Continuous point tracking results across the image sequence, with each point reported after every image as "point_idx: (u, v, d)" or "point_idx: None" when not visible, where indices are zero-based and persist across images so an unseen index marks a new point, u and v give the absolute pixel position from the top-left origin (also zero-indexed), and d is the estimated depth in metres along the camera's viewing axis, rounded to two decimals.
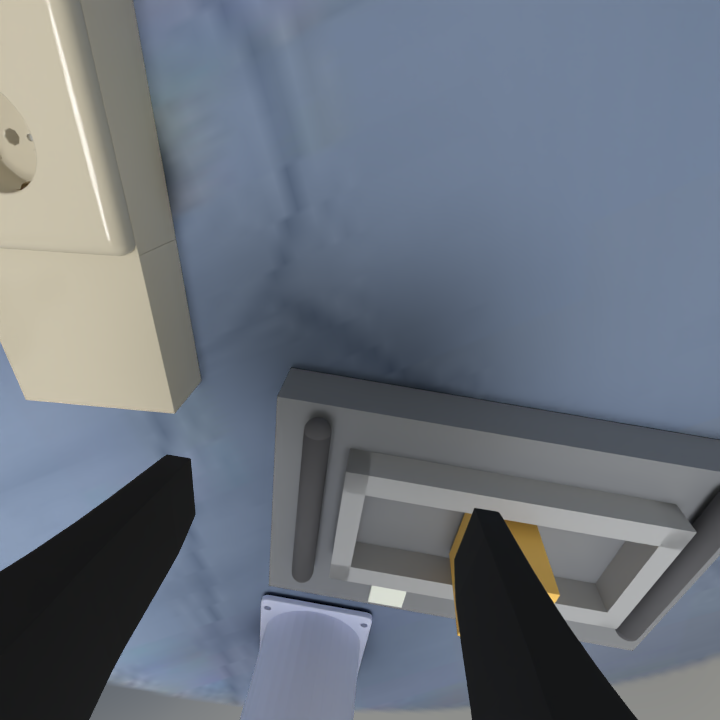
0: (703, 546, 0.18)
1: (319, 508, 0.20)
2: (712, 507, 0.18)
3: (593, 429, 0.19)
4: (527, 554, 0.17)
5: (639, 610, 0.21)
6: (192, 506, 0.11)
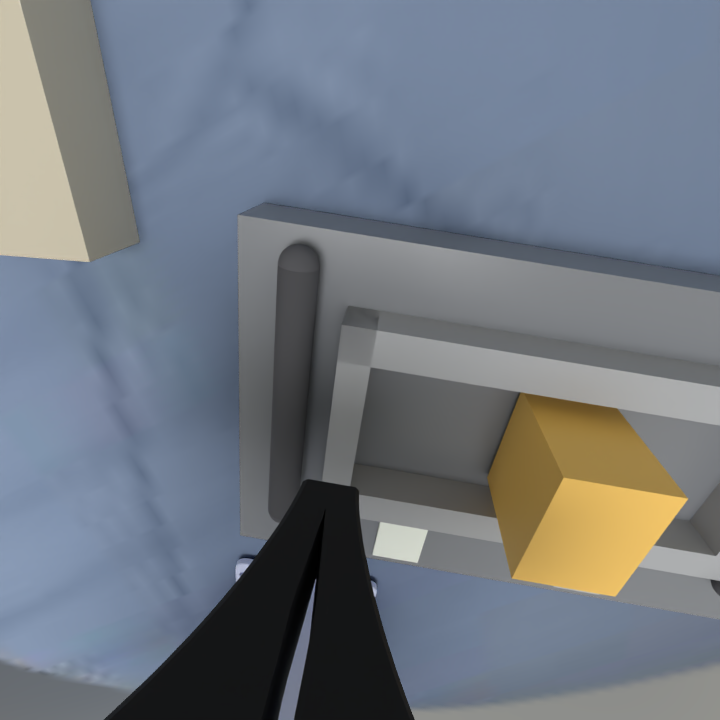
0: None
1: (304, 402, 0.14)
2: None
3: (704, 278, 0.13)
4: (621, 449, 0.11)
5: None
6: None
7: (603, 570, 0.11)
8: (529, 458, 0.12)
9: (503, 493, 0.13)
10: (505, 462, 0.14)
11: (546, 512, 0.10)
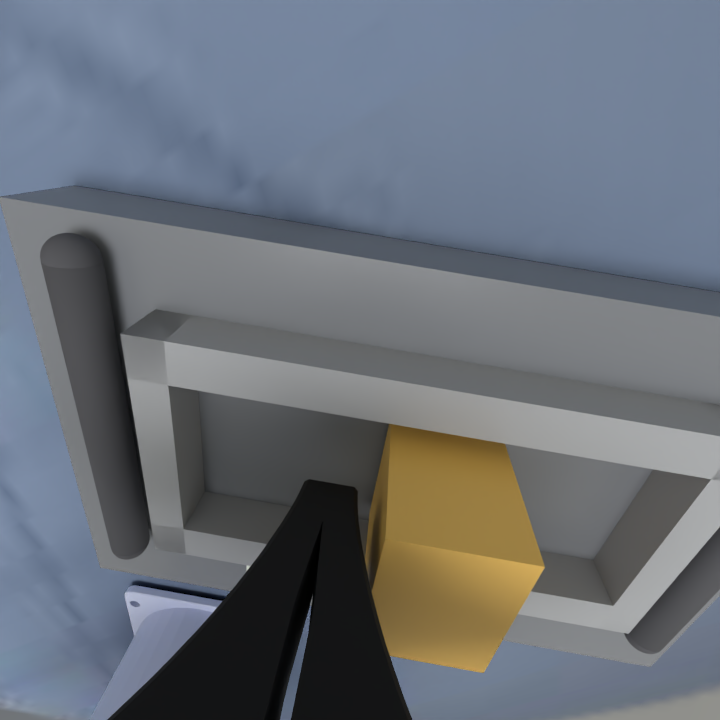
0: None
1: (118, 424, 0.11)
2: None
3: (589, 278, 0.11)
4: (483, 494, 0.09)
5: (666, 603, 0.13)
6: None
7: (461, 644, 0.09)
8: (381, 501, 0.10)
9: (369, 537, 0.11)
10: (375, 499, 0.12)
11: (376, 578, 0.08)
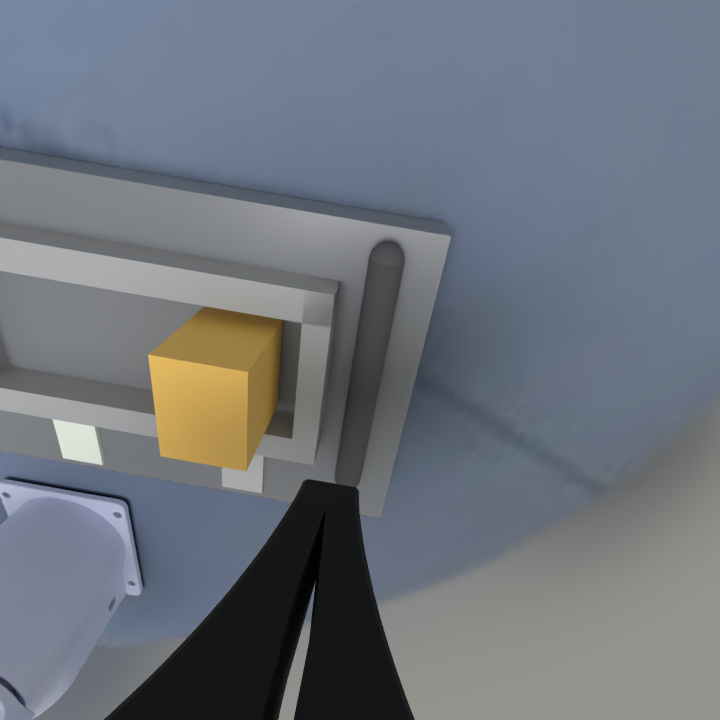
0: (365, 328, 0.14)
1: None
2: (367, 271, 0.14)
3: (245, 192, 0.15)
4: (237, 343, 0.13)
5: (341, 442, 0.17)
6: None
7: (223, 445, 0.14)
8: None
9: None
10: None
11: (153, 389, 0.13)
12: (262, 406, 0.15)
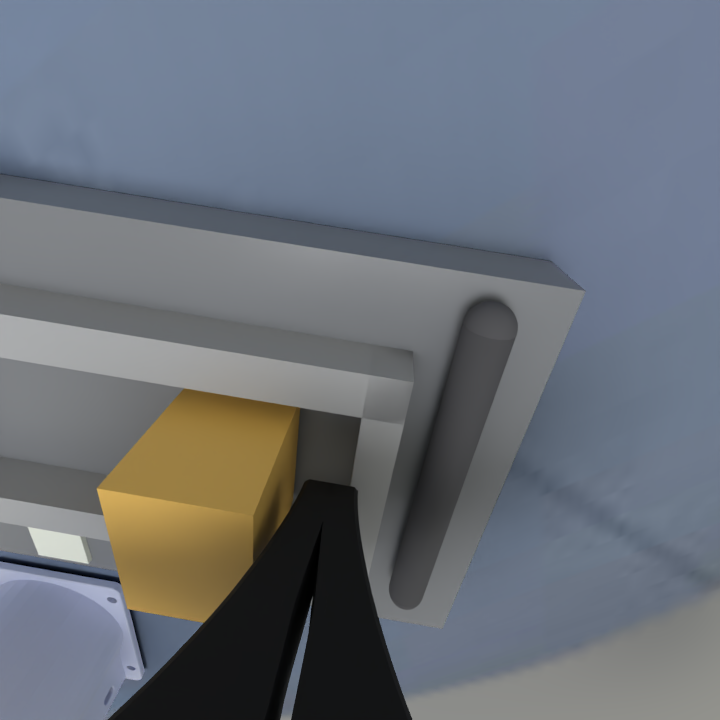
0: (451, 421, 0.10)
1: None
2: (457, 342, 0.10)
3: (275, 225, 0.11)
4: (236, 451, 0.09)
5: (403, 555, 0.13)
6: None
7: (218, 601, 0.09)
8: None
9: None
10: None
11: (109, 531, 0.08)
12: (274, 527, 0.10)
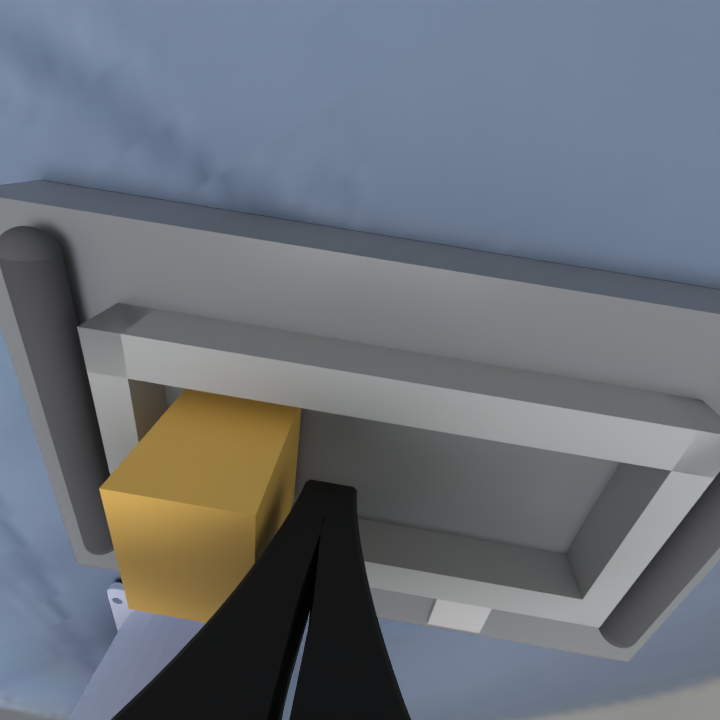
0: None
1: (83, 419, 0.11)
2: None
3: (552, 270, 0.11)
4: (238, 451, 0.09)
5: (636, 596, 0.13)
6: None
7: (220, 601, 0.09)
8: None
9: None
10: None
11: (111, 531, 0.08)
12: (275, 527, 0.10)
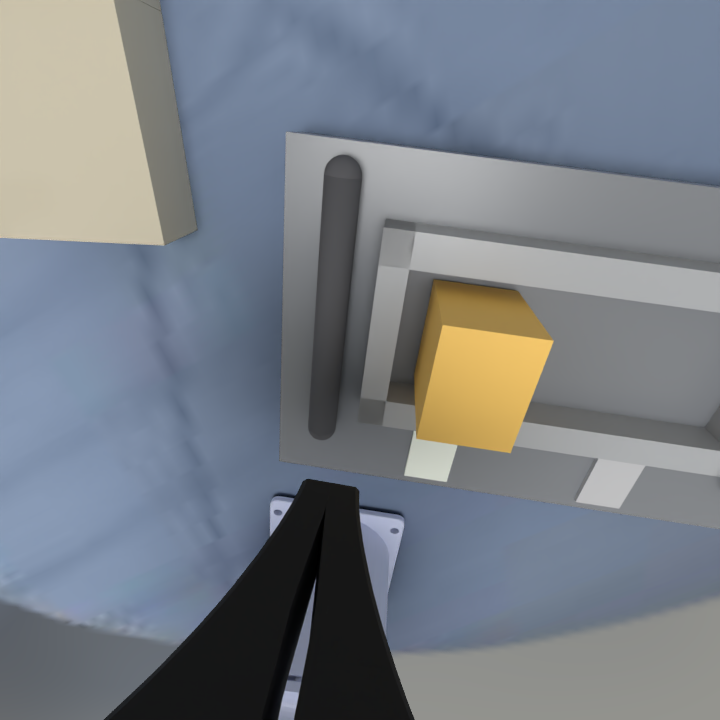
0: None
1: (345, 314, 0.15)
2: None
3: (716, 186, 0.14)
4: (508, 313, 0.12)
5: None
6: None
7: (494, 424, 0.12)
8: (431, 330, 0.13)
9: (419, 376, 0.15)
10: (422, 350, 0.15)
11: (434, 364, 0.12)
12: None
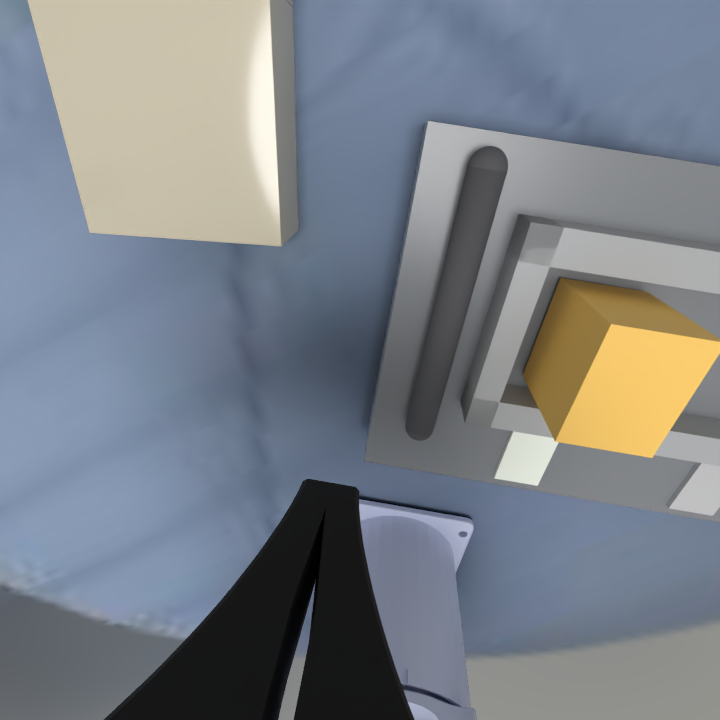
0: None
1: (466, 311, 0.14)
2: None
3: None
4: (659, 314, 0.12)
5: None
6: None
7: (642, 428, 0.12)
8: (571, 330, 0.13)
9: (542, 376, 0.14)
10: (543, 350, 0.15)
11: (592, 364, 0.11)
12: None
